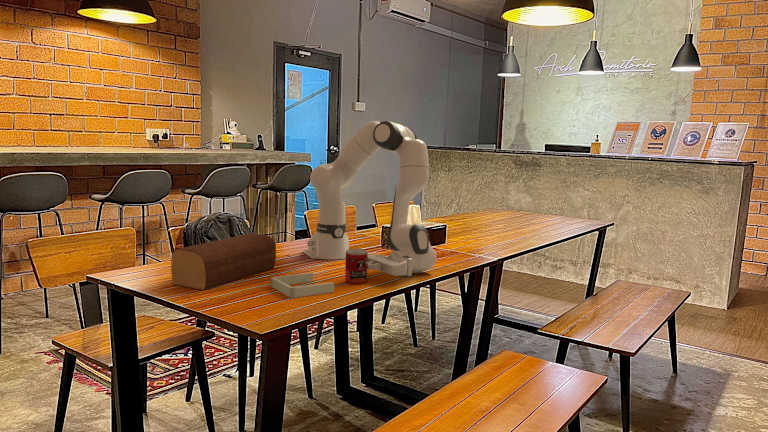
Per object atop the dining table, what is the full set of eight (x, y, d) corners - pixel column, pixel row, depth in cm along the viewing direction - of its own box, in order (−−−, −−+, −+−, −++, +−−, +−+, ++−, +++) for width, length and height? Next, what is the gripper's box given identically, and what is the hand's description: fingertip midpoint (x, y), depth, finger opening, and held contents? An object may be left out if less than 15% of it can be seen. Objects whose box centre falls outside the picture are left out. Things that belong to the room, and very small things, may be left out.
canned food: (350, 285, 201) (350, 253, 199) (341, 279, 208) (342, 249, 206) (370, 283, 204) (371, 252, 203) (361, 278, 211) (362, 248, 210)
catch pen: (270, 286, 197) (270, 277, 196) (311, 280, 205) (311, 272, 205) (291, 298, 183) (291, 288, 183) (333, 292, 192) (334, 283, 191)
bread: (169, 285, 195) (168, 246, 193) (244, 264, 230) (244, 230, 228) (205, 292, 188) (205, 251, 187) (277, 268, 223) (277, 234, 221)
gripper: (382, 249, 223) (350, 252, 215) (414, 259, 206) (382, 263, 199) (381, 265, 224) (350, 269, 216) (414, 277, 207) (381, 281, 200)
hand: (365, 266), depth 207 cm, fingers closed, pressing on canned food
